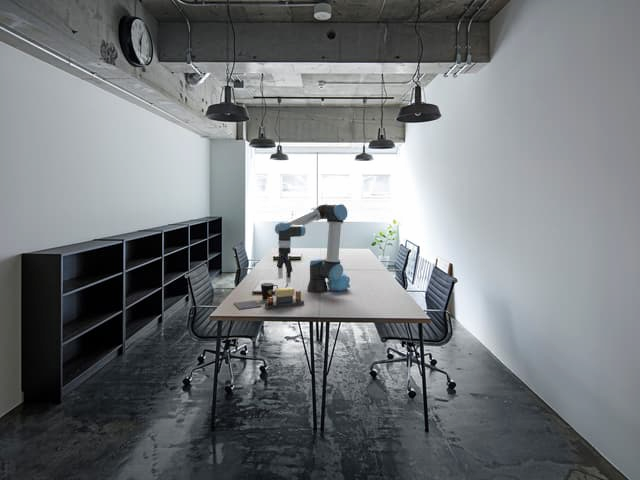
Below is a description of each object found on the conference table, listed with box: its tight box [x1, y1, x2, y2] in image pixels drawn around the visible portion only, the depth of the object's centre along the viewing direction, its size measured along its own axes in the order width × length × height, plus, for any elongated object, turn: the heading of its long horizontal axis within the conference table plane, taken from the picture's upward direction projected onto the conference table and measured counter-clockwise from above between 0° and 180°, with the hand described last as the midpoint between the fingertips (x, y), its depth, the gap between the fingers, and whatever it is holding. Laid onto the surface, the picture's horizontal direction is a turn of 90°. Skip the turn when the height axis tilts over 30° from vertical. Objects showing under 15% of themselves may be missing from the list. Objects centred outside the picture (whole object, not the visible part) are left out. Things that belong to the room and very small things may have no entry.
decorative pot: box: [326, 272, 351, 292], centre depth 282 cm, size 16×16×14 cm
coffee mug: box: [260, 282, 279, 301], centre depth 256 cm, size 12×9×10 cm
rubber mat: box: [233, 300, 262, 311], centre depth 240 cm, size 14×14×1 cm
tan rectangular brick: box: [274, 286, 295, 297], centre depth 239 cm, size 11×6×4 cm, turn 117°
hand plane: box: [264, 290, 305, 310], centre depth 240 cm, size 24×7×8 cm, turn 117°
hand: (284, 280), depth 238 cm, fingers open, 13 cm apart
